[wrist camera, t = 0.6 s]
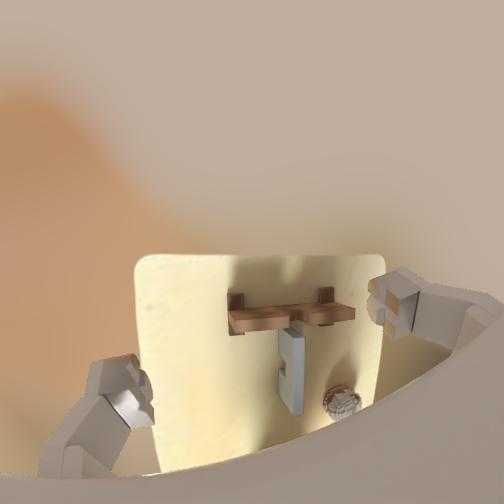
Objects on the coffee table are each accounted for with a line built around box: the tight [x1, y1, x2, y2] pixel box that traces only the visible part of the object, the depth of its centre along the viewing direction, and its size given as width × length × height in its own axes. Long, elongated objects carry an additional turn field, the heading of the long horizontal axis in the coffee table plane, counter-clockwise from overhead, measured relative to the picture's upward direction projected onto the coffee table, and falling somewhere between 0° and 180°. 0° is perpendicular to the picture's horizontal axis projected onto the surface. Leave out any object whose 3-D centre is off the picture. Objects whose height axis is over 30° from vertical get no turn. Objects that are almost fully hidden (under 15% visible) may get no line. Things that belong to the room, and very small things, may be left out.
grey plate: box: [278, 326, 305, 416], centre depth 54 cm, size 16×2×10 cm, turn 2°
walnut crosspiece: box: [227, 287, 355, 336], centre depth 54 cm, size 22×8×10 cm, turn 92°
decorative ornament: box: [323, 385, 362, 422], centre depth 54 cm, size 8×8×15 cm
